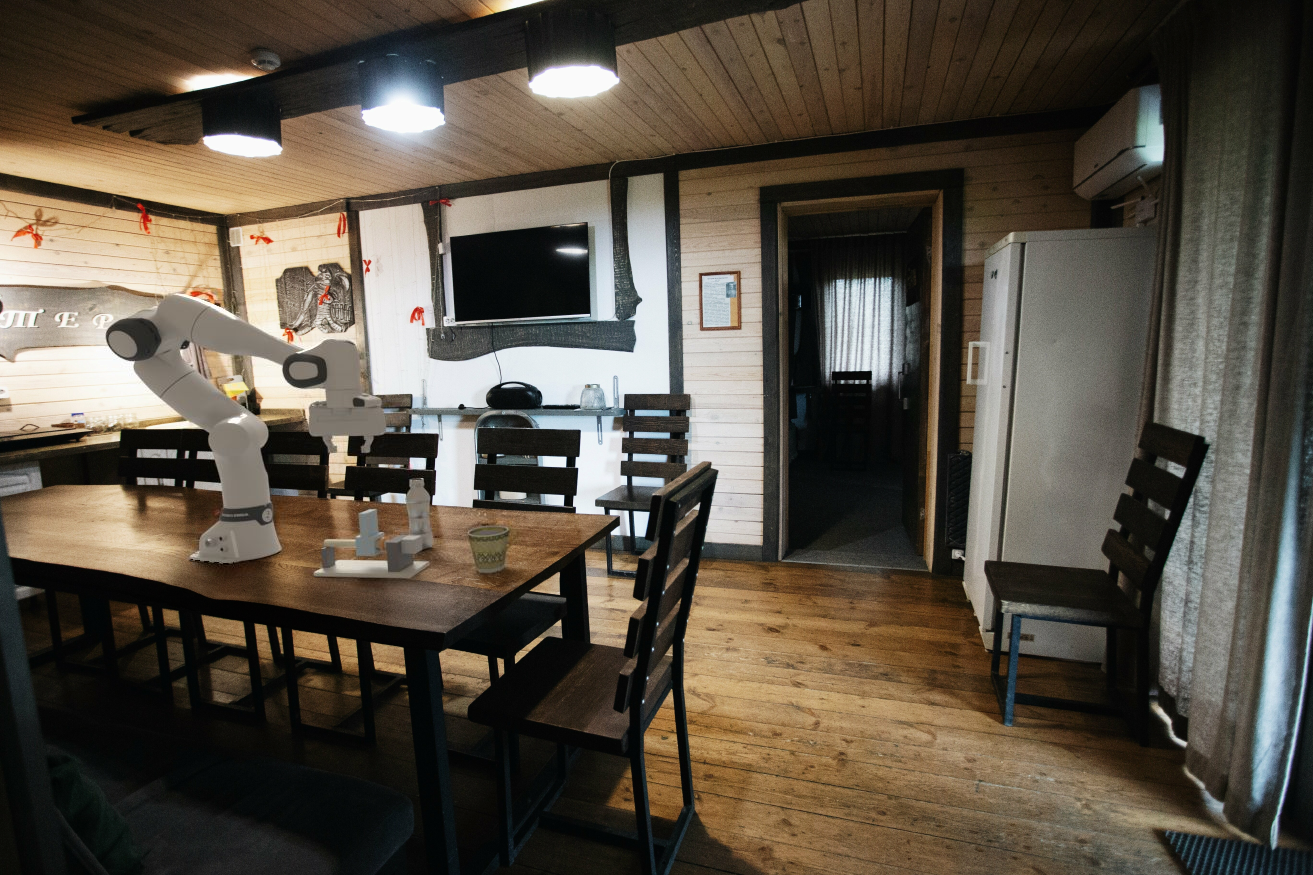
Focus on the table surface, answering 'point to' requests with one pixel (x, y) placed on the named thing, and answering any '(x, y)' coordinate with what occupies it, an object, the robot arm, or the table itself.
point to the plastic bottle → (419, 512)
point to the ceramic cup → (490, 547)
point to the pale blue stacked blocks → (368, 534)
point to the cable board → (394, 567)
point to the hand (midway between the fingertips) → (349, 452)
